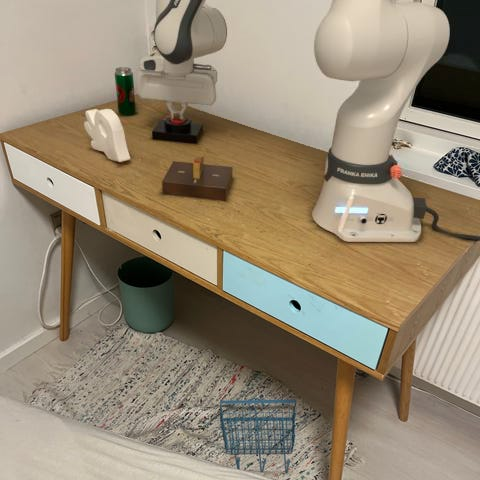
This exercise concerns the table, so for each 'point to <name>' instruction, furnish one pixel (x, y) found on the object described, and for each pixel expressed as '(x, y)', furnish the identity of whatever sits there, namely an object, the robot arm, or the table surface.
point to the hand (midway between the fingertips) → (177, 118)
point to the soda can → (125, 91)
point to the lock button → (177, 120)
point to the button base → (177, 131)
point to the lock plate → (197, 181)
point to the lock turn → (198, 166)
